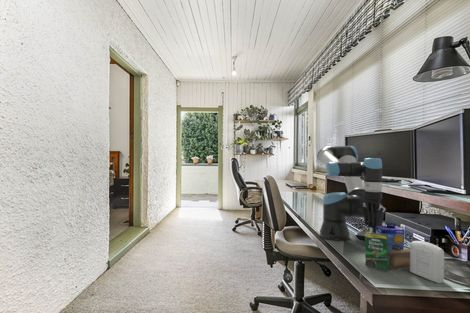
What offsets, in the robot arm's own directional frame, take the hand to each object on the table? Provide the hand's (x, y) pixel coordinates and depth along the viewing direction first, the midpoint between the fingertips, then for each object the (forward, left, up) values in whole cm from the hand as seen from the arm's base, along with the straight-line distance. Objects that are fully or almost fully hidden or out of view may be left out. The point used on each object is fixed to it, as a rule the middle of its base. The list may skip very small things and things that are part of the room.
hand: (373, 241), depth 120 cm
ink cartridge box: (+9, 0, -4) cm, 9 cm away
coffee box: (+16, -15, -4) cm, 23 cm away
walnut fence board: (+19, -1, -3) cm, 20 cm away
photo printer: (+28, -5, -4) cm, 29 cm away
